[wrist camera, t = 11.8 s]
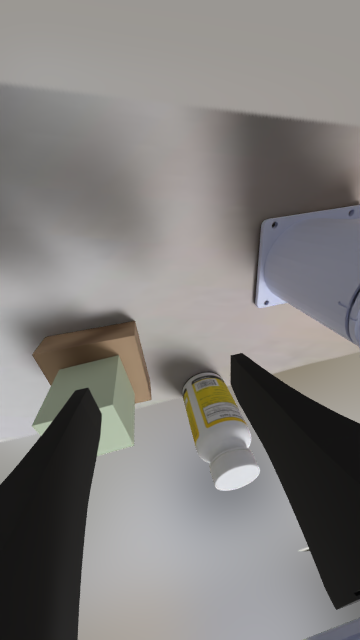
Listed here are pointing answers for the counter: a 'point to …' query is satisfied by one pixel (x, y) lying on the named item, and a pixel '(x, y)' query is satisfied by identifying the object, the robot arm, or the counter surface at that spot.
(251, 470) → the supplement bottle
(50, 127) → the counter surface
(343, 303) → the robot arm
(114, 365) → the sage cube
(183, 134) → the counter surface
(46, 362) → the walnut block
